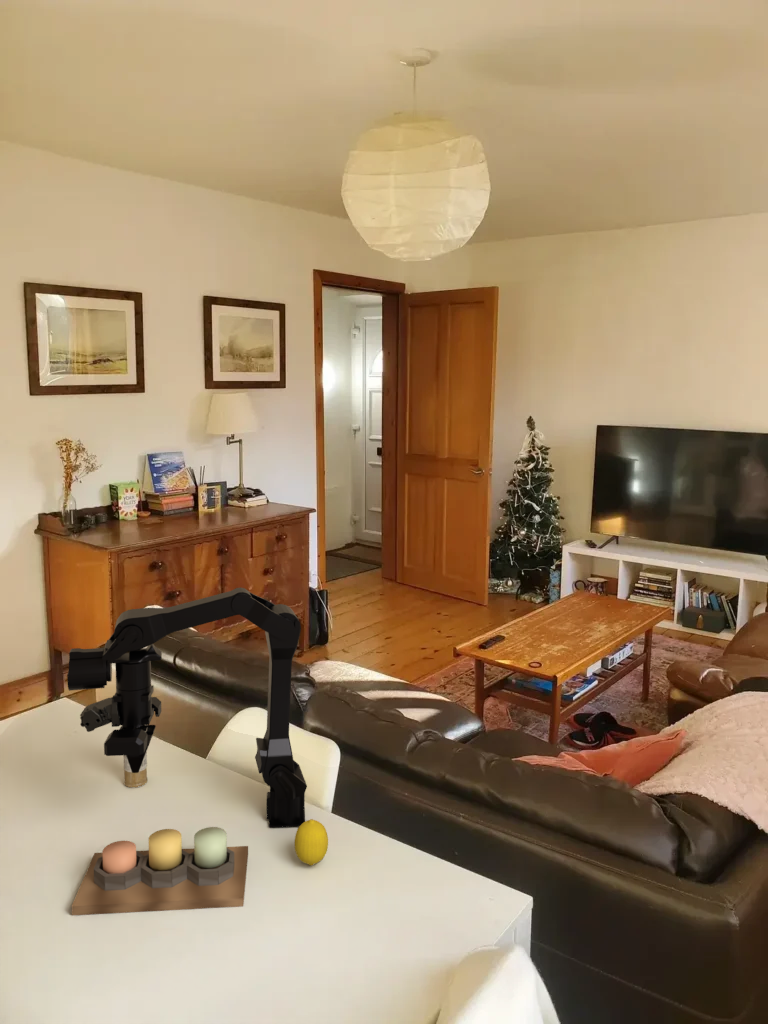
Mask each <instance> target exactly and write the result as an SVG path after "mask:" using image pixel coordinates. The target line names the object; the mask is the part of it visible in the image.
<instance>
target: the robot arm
mask: <svg viewBox="0 0 768 1024" xmlns="http://www.w3.org/2000/svg"><path fill="white" fill-rule="evenodd" d="M295 613H296V612H294V610H293V609H292V608H291V606H289V605H286V604H283V603H278V604H276V603H275V604H274V603H273V602H271V601H269V600H267V598H263V597H261V596H258V595H256V594H255V593H252V592H251V591H249V590H248V589H246V588H244V587H236V588H234V589H232V590H230V591H229V590H228V591H225V592H222V593H218V594H214V595H210V596H207V597H203V598H199V599H195V600H192V601H189V602H184V603H180V604H176V605H173V606H169V607H142V608H131V609H128V610H125V611H123V612H121V614H120V615H119V616H118V618H117V619H116V621H115V626H114V630H113V631H114V632H112V634H111V635H110V637H109V638H108V639H107V640H106V642H105V645H104V647H97V648H96V647H95V648H80V647H79V648H78V647H77V648H71V649H70V650H69V653H68V656H69V659H68V660H69V661H68V671H67V676H66V677H67V678H66V679H67V680H66V681H67V689H68V691H82V690H83V691H85V690H96V689H105V688H106V686H108V682H112V679H113V664H115V693H114V695H112V696H110V697H107V698H104V699H102V700H99V701H96V702H93V703H91V704H88V705H87V706H85V707H84V708H83V710H82V712H81V713H80V714H79V718H80V726H81V727H82V728H85V730H86V732H88V733H89V732H90V733H91V732H94V731H95V730H96V729H97V728H101V727H103V726H106V725H109V724H111V727H112V728H113V727H119V729H113V730H112V731H111V732H110V733H109V734H108V735H107V737H106V739H105V741H104V743H103V750H104V751H103V753H104V755H105V756H107V757H113V756H114V757H115V756H124V755H126V756H127V759H128V762H129V765H130V768H131V771H132V773H138V772H139V770H140V768H141V765H142V762H143V759H144V757H145V754H146V751H147V752H148V749H149V746H150V743H151V740H152V739H153V736H154V732H155V730H156V727H157V726H156V725H155V724H151V721H152V719H153V717H154V715H155V717H156V718H157V717H158V718H160V716H161V713H162V700H160V699H159V698H158V697H157V696H152V695H153V694H154V688H155V687H154V685H152V664H151V662H154V661H161V660H162V658H163V657H162V654H163V652H162V650H161V649H159V648H158V647H157V646H155V643H157V642H159V641H160V640H162V639H163V638H165V637H167V636H169V635H171V634H173V633H175V632H179V631H183V630H187V629H191V628H194V627H197V626H201V625H205V624H209V623H212V622H217V621H220V620H224V619H227V618H230V617H235V616H241V617H243V618H245V619H246V620H247V621H249V623H252V624H253V625H255V626H256V627H257V628H259V629H261V630H262V631H264V632H265V633H264V635H265V639H266V645H267V650H268V656H269V659H268V661H269V662H268V684H267V685H268V688H267V689H268V690H267V710H266V713H267V715H266V730H265V733H264V735H263V738H262V737H256V738H255V740H256V741H255V742H256V748H257V749H256V754H255V756H254V759H255V763H256V767H257V771H258V773H259V774H261V775H262V779H263V782H264V783H265V784H266V785H267V786H268V787H269V791H267V792H266V820H267V821H268V827H269V828H270V829H271V828H273V829H275V828H278V829H279V828H299V826H300V825H301V824H302V823H304V822H305V821H306V811H305V810H306V808H305V797H306V795H305V793H306V790H307V789H308V784H307V782H306V780H305V777H304V775H303V772H302V769H301V766H300V764H299V763H298V762H296V761H295V760H294V756H293V750H292V745H291V740H290V717H291V716H290V715H291V714H290V713H291V695H292V694H291V689H292V688H291V687H292V671H293V670H292V669H293V667H292V665H293V664H292V663H293V658H294V655H295V653H296V651H297V648H298V644H299V640H300V635H301V630H302V626H301V622H300V620H299V618H298V617H297V614H295Z"/></svg>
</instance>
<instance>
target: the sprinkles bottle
mask: <svg viewBox="0 0 768 1024" xmlns="http://www.w3.org/2000/svg"><path fill="white" fill-rule="evenodd" d="M147 753H148V750H147V751H146V754H145V757H144V759H143V762H142V765H141V768H140V770H139V772H138V773H132V771H131V768H130V765H129V762H128V759H127V756H126V755H123V771H124V772H123V773H124V777H123V778H124V781H123V784H125V785H124V786H125V787H127V786H129V787H128V788H131V787H135V788H139V787H138V786H141V787H143V786H145V785H146V784H147V782H148V777H147V776H148V774H147V773H148V772H147V767H148V759H147V758H148V755H147ZM145 783H146V784H145ZM142 785H143V786H142Z"/></svg>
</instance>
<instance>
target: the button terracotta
mask: <svg viewBox="0 0 768 1024" xmlns="http://www.w3.org/2000/svg"><path fill="white" fill-rule="evenodd" d="M136 851H137V845H136V844H135V843H134V842H133V841H130V840H117V841H114V842H110V843H109V844H107V845H106V846H104V848H103V849H102V854H103V871H104V872H106V873H107V874H115V873H125V872H127V871H129V870H131V869H133V868H135V867H137V864H136Z"/></svg>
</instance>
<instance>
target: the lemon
mask: <svg viewBox="0 0 768 1024" xmlns="http://www.w3.org/2000/svg"><path fill="white" fill-rule="evenodd" d="M328 846H329V837H328V832H327V829H326V827H325V825H324V824H323V823H322V822H320V821H318V820H316V819H313V818H310V819H308V820H305V822H304V823H302V824H301V825H300V826H299V827H297V830H296V832H295V836H294V851H295V854H296V856H297V858H298V860H299V861H301V862H302V863H304V864H307V865H308V866H311V867H312V866H313V865H314V864H315V865H316V864H318V863H320V862H321V861H322V860H323V859H324V858H325V856H326V854H327V853H328Z"/></svg>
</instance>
